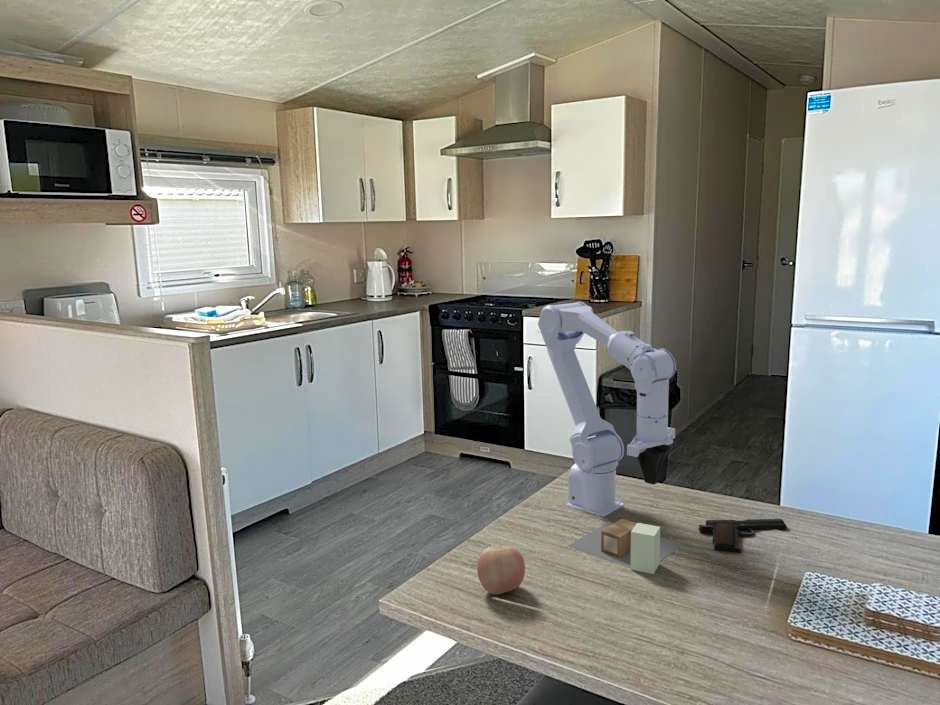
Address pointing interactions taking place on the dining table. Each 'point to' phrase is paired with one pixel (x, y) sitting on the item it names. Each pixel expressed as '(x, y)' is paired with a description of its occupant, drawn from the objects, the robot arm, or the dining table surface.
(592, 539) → the mat
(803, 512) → the dining table surface
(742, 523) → the handgun
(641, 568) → the sage block
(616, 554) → the walnut block
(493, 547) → the apple
